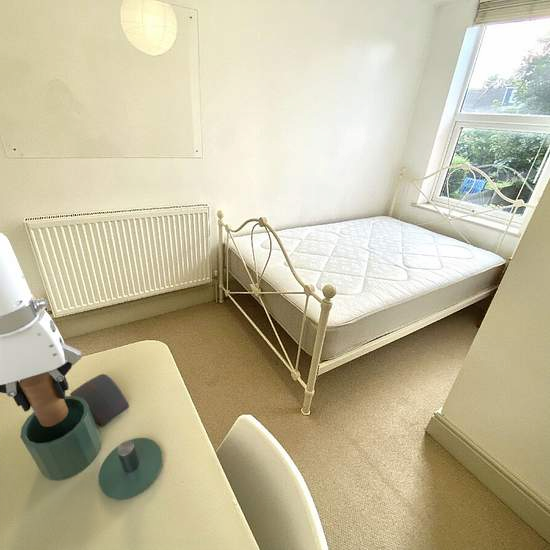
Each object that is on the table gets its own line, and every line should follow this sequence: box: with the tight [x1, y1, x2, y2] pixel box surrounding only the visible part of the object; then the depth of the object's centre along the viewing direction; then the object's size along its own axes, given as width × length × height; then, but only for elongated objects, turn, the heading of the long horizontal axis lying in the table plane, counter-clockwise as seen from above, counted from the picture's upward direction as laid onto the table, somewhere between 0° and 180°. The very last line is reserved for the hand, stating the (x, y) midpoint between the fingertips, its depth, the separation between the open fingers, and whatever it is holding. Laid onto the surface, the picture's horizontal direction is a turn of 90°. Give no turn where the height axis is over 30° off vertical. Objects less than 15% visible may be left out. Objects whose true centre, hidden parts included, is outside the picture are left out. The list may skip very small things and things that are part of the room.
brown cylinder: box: [19, 372, 68, 427], centre depth 54 cm, size 4×4×10 cm
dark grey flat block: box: [69, 373, 130, 427], centre depth 71 cm, size 8×14×4 cm, turn 55°
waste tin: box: [20, 395, 102, 481], centre depth 59 cm, size 10×10×10 cm
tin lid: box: [98, 437, 163, 501], centre depth 58 cm, size 11×11×7 cm
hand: (45, 398), depth 54 cm, fingers closed on brown cylinder, 4 cm apart
